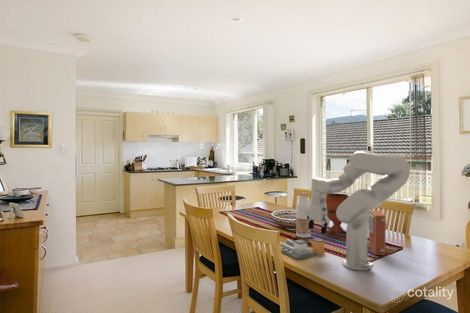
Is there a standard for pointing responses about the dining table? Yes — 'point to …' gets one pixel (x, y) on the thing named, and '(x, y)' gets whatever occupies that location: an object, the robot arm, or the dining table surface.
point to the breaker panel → (295, 250)
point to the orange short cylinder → (318, 245)
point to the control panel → (377, 232)
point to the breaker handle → (300, 245)
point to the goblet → (334, 209)
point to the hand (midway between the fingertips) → (317, 231)
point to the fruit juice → (302, 217)
